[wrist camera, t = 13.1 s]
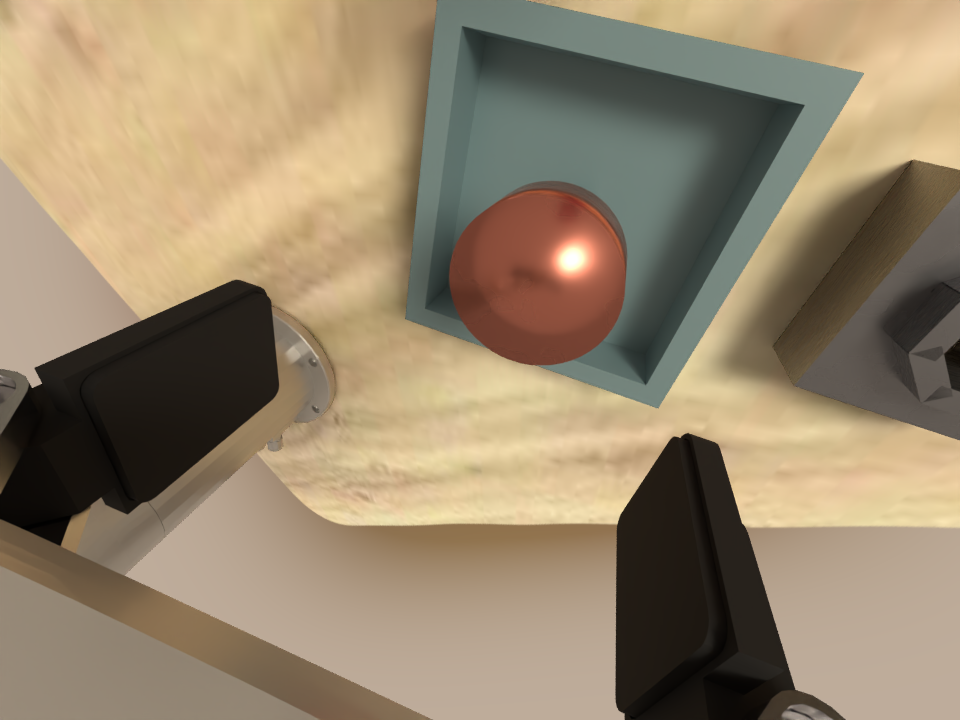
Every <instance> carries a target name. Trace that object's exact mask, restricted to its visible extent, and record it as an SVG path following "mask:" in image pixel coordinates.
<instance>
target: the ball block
mask: <svg viewBox="0 0 960 720" xmlns="http://www.w3.org/2000/svg"><path fill="white" fill-rule="evenodd" d="M959 339H960V170H957V169H953V168H948V167H944V166H939V165H935V164H930V163H926V162H921V161H917V160H912V162H911V163H910V164H909V166H908V167H907V168H906V170H905V171H904V172H903V174H902V175H901V176H900V178H899V179H898V180H897V182H896V183H895V184H894V186H893V187H892V188H891V190H890V191H889V192H888V194H887V195H886V196H885V198H884V199H883V200H882V202H881V203H880V204H879V206H878V207H877V208H876V210H875V211H874V212H873V214H872V215H871V216H870V218H869V219H868V220H867V222H866V223H865V224H864V226H863V227H862V228H861V230H860V231H859V232H858V234H857V235H856V236H855V238H854V239H853V240H852V242H851V243H850V244H849V246H848V247H847V248H846V250H845V251H844V252H843V254H842V255H841V256H840V258H839V259H838V260H837V262H836V263H835V264H834V266H833V267H832V268H831V270H830V271H829V272H828V274H827V275H826V276H825V278H824V279H823V280H822V282H821V283H820V284H819V286H818V287H817V288H816V290H815V291H814V292H813V294H812V295H811V296H810V298H809V299H808V301H807V302H806V303H805V305H804V306H803V307H802V309H801V310H800V311H799V313H798V314H797V315H796V317H795V318H794V319H793V321H792V322H791V323H790V325H789V326H788V327H787V329H786V330H785V331H784V333H783V334H782V335H781V337H780V338H779V339H778V341H777V342H776V343H775V345H774V346H773V348H774V350H775V352H776V353H777V355H778V357H779V359H780V361H781V363H782V365H783V366H784V368H785V370H786V372H787V374H788V376H789V378H790V379H791V381H792V383H793V385H794V386H796V387H799V388H802V389H805V390H808V391H811V392H814V393H817V394H820V395H823V396H826V397H829V398H833V399H836V400H839V401H842V402H845V403H848V404H851V405H854V406H857V407H860V408H863V409H866V410H869V411H872V412H875V413H878V414H881V415H884V416H887V417H890V418H893V419H896V420H899V421H902V422H905V423H909V424H912V425H915V426H918V427H921V428H924V429H927V430H930V431H933V432H936V433H939V434H942V435H945V436H948V437H951V438H954V439H957V440H960V343H958V344H957V345H956V346H955V347H954V348H953V349H952V348H950V347H952V346H953V345H954V344H955V343H956V342H957V341H958V340H959Z"/></svg>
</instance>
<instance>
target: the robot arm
mask: <svg viewBox="0 0 960 720" xmlns="http://www.w3.org/2000/svg"><path fill="white" fill-rule="evenodd" d="M35 370H36V372H37V374H38V376H39V378H40V379H41V382H42V384H41V385H38V386H36V387H34V388H32V387H31V385H30V383H29V382H28V380H27V378H26V376H24V375H22V374H20V373H18V372H15V371H10V370H4V369H0V720H432V719H430V718H428V717H425V716H423V715H421V714H419V713H417V712H415V711H413V710H411V709H409V708H406V707H404V706H402V705H400V704H398V703H396V702H394V701H392V700H390V699H387V698H385V697H383V696H381V695H379V694H377V693H375V692H373V691H371V690H368V689H366V688H364V687H362V686H360V685H358V684H356V683H354V682H351V681H349V680H347V679H345V678H343V677H341V676H339V675H337V674H334V673H332V672H330V671H328V670H326V669H324V668H322V667H320V666H317V665H315V664H313V663H311V662H309V661H306V660H305V659H302V658H300V657H298V656H296V655H294V654H292V653H289V652H287V651H285V650H283V649H281V648H279V647H277V646H275V645H272V644H270V643H268V642H266V641H264V640H262V639H259V638H257V637H255V636H253V635H251V634H249V633H247V632H244V631H242V630H240V629H238V628H236V627H234V626H232V625H230V624H227V623H225V622H223V621H221V620H219V619H217V618H214V617H212V616H210V615H208V614H206V613H204V612H201V611H199V610H197V609H195V608H193V607H191V606H189V605H186V604H184V603H182V602H180V601H178V600H176V599H173V598H171V597H169V596H167V595H165V594H163V593H161V592H159V591H156V590H154V589H152V588H150V587H148V586H146V585H143V584H141V583H139V582H137V581H135V580H132V579H130V578H128V577H126V576H124V575H125V574H126V573H127V572H128V571H130V570H131V569H132V568H133V567H134V566H135V565H136V564H137V563H138V562H139V561H140V560H141V559H142V558H143V557H144V556H145V555H147V554H148V553H149V552H150V551H151V550H152V549H153V548H154V547H155V546H156V545H157V544H158V543H160V542H161V541H162V540H163V539H164V538H165V537H166V536H167V535H168V534H169V533H170V532H171V531H172V530H173V529H174V528H176V527H177V526H178V525H179V524H180V523H181V522H182V521H183V520H184V519H185V518H186V517H188V516H189V515H190V513H192V512H193V511H194V510H195V509H196V508H197V507H198V506H199V505H200V504H202V503H203V502H204V501H205V500H206V499H207V498H208V497H209V496H210V495H211V494H212V493H213V492H214V491H216V490H217V489H218V488H219V487H220V486H221V485H222V484H223V483H224V482H225V481H226V480H227V479H229V478H230V477H231V476H232V475H233V474H234V473H235V472H236V471H237V470H238V469H239V468H240V467H242V466H243V465H244V464H245V463H246V462H247V461H248V460H249V459H250V458H251V457H252V456H253V455H254V454H256V453H257V452H258V451H260V450H262V449H264V447H265V446H266V443H267V444H268V449H269V450H270V451H279V450H280V449H282V447H283V440H282V435H281V434H282V433H283V432H284V431H285V430H286V429H287V428H288V427H290V426H291V425H292V424H293V423H294V422H296V423H305V422H310V421H313V420H316V419H317V418H319V417H320V416H322V415H323V414H324V413H325V412H326V411H327V410H328V409H329V407H330V406H331V404H332V402H333V400H334V395H335V379H334V375H333V371H332V368H331V366H330V363H329V361H328V358H327V357H326V355H325V353H324V352H323V350H322V348H321V347H320V345H319V344H318V343H317V341H316V340H315V339H314V337H313V336H312V335H311V334H310V333H309V332H308V331H307V330H306V329H305V328H304V327H303V326H302V325H301V324H300V323H298V322H297V321H296V320H295V319H293V318H292V317H291V316H289V315H288V314H286V313H284V312H283V311H281V310H279V309H278V308H275V307H273V306H272V305H271V300H270V298H269V297H268V296H267V294H266V292H265V290H264V289H263V288H261V287H259V286H256V285H253V284H250V283H247V282H244V281H241V280H234V281H231V282H228V283H226V284H224V285H222V286H219V287H217V288H215V289H212V290H210V291H208V292H206V293H203V294H201V295H199V296H197V297H194V298H192V299H190V300H187V301H185V302H183V303H181V304H178V305H176V306H174V307H172V308H169V309H167V310H165V311H163V312H160V313H158V314H156V315H153V316H151V317H149V318H147V319H144V320H142V321H140V322H138V323H135V324H133V325H131V326H129V327H126V328H124V329H122V330H119V331H117V332H115V333H113V334H110V335H108V336H106V337H104V338H101V339H99V340H97V341H95V342H92V343H90V344H88V345H85V346H83V347H81V348H79V349H76V350H74V351H72V352H70V353H67V354H65V355H63V356H60V357H58V358H56V359H54V360H51V361H49V362H47V363H45V364H42V365H40V366H38V367H35ZM616 568H617V569H616V571H617V572H616V705H617V708H618V710H619V711H620V712H623V713H625V720H846V719H844V718H843V717H842V716H841V715H840V714H839V713H838V712H836V711H835V710H834V709H833V708H832V707H831V706H829V705H827V704H826V703H824V702H823V701H821V700H819V699H818V698H816V697H814V696H813V695H810V694H807V693H804V692H801V691H798V690H795V687H794V684H793V680H792V677H791V674H790V671H789V667H788V664H787V661H786V657H785V654H784V651H783V647H782V644H781V641H780V637H779V634H778V631H777V628H776V624H775V621H774V618H773V614H772V611H771V608H770V605H769V601H768V598H767V594H766V591H765V588H764V585H763V581H762V578H761V575H760V571H759V568H758V565H757V561H756V558H755V555H754V551H753V548H752V545H751V541H750V538H749V535H748V532H747V530H746V528H745V526H744V525H743V524H742V522H741V518H740V515H739V512H738V508H737V505H736V501H735V498H734V495H733V491H732V488H731V484H730V481H729V478H728V474H727V471H726V467H725V464H724V461H723V457H722V454H721V451H720V448H719V446H718V444H717V443H715V442H712V441H709V440H706V439H703V438H701V437H698V436H695V435H692V434H689V433H687V434H684V435H683V436H682V437H681V438H679V437H673V438H671V440H670V441H669V442H668V444H667V445H666V447H665V448H664V450H663V451H662V453H661V454H660V456H659V457H658V459H657V460H656V462H655V463H654V465H653V466H652V468H651V469H650V471H649V473H648V474H647V476H646V477H645V479H644V480H643V482H642V483H641V485H640V486H639V488H638V489H637V491H636V492H635V494H634V495H633V497H632V498H631V500H630V501H629V503H628V504H627V506H626V507H625V509H624V510H623V512H622V513H621V515H620V518H619V521H618V525H617V567H616Z"/></svg>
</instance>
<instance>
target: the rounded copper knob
mask: <svg viewBox="0 0 960 720" xmlns="http://www.w3.org/2000/svg"><path fill="white" fill-rule="evenodd" d="M626 270H627V244H626V240H625V235H624V232H623V230H622V227H621V225H620V223H619V221H618V219H617V217H616V216H615V214H614V213H613V212H612V210H611V209H610V208H609V206H608V205H607V204H606V203H605V202H604V201H602V200H601V199H600V198H599V197H598V196H596V195H595V194H593V193H592V192H590V191H588V190H587V189H585V188H583V187H580V186H577V185H575V184H572V183H567V182H562V181H539V182H534V183H530V184H527V185H524V186H522V187H519V188H517V189H515V190H513V191H512V192H510V193H508V194H507V195H506V196H504V197H503V198H502V199H500V200H499V201H497V202H496V203H495V204H493V205H492V206H490V207H489V208H488V209H486V210H485V211H484V212H482V213H481V214H480V215H478V216H477V217H476V218H475V219H474V220H473V221H472V222H471V223H470V224H469V225H468V226H467V227H466V229H465V230H464V231H463V233H462V234H461V236H460V238H459V240H458V241H457V243H456V246H455V249H454V251H453V254H452V258H451V263H450V272H449V280H450V290H451V295H452V299H453V302H454V305H455V308H456V310H457V312H458V314H459V316H460V318H461V320H462V321H463V323H464V324H465V326H466V327H467V329H468V330H469V331H470V332H471V333H472V335H473V336H474V337H475V338H476V339H477V340H478V341H480V342H481V343H482V344H483V345H484V346H486V347H487V348H488V349H490V350H491V351H493V352H495V353H497V354H498V355H500V356H502V357H505V358H507V359H509V360H512V361H516V362H519V363H524V364H529V365H555V364H561V363H565V362H568V361H572V360H574V359H576V358H579V357H581V356H583V355H584V354H586V353H588V352H590V351H591V350H592V349H594V348H595V347H596V346H598V345H599V344H600V343H601V342H602V341H603V340H604V339H605V338H606V337H607V335H608V334H609V333H610V331H611V330H612V329H613V327H614V325H615V323H616V322H617V320H618V318H619V315H620V312H621V310H622V306H623V301H624V297H625V283H626Z"/></svg>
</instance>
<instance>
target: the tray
mask: <svg viewBox="0 0 960 720" xmlns="http://www.w3.org/2000/svg"><path fill="white" fill-rule="evenodd" d="M863 75H864V73H861V72H856V71H852V70H847V69H842V68H838V67H833V66H828V65H824V64H819V63H814V62H810V61H805V60H800V59H796V58H791V57H787V56H782V55H777V54H773V53H768V52H763V51H759V50H754V49H749V48H745V47H740V46H735V45H731V44H726V43H721V42H717V41H712V40H707V39H703V38H698V37H694V36H689V35H684V34H680V33H675V32H670V31H666V30H661V29H656V28H652V27H647V26H642V25H638V24H633V23H628V22H624V21H619V20H615V19H610V18H605V17H601V16H596V15H591V14H587V13H582V12H577V11H573V10H568V9H563V8H559V7H554V6H549V5H545V4H540V3H535V2H531V1H526V0H437V8H436V18H435V28H434V38H433V48H432V58H431V68H430V78H429V88H428V98H427V108H426V118H425V128H424V138H423V148H422V157H421V167H420V177H419V187H418V197H417V207H416V217H415V227H414V237H413V247H412V257H411V267H410V277H409V287H408V297H407V307H406V317H405V319H406V320H409V321H412V322H415V323H418V324H420V325H423V326H426V327H429V328H432V329H435V330H437V331H440V332H443V333H446V334H449V335H452V336H454V337H457V338H460V339H463V340H466V341H469V342H471V343H474V344H477V345H480V346H483V347H485V348H487V347H486V346H484V345H483V344H482V343H481V342H480V341H478V340H477V339H476V338H475V337H474V336H473V335H472V333H471V332H470V331H469V330H468V329H467V327H466V326H465V324H464V323H463V321H462V320H461V318H460V316H459V314H458V312H457V310H456V308H455V305H454V302H453V299H452V295H451V290H450V280H449V272H450V263H451V258H452V254H453V251H454V249H455V246H456V243H457V241H458V240H459V238H460V236H461V234H462V233H463V231H464V230H465V229H466V227H467V226H468V225H469V224H470V223H471V222H472V221H473V220H474V219H475V218H476V217H477V216H478V215H480V214H481V213H482V212H484V211H485V210H486V209H488V208H489V207H490V206H492V205H493V204H495V203H496V202H497V201H499V200H500V199H502V198H503V197H504V196H506V195H507V194H508V193H510V192H512V191H513V190H515V189H517V188H519V187H522V186H524V185H527V184H530V183H534V182H539V181H562V182H567V183H572V184H575V185H577V186H580V187H583V188H585V189H587V190H588V191H590V192H592V193H593V194H595V195H596V196H598V197H599V198H600V199H601V200H602V201H604V202H605V203H606V204H607V205H608V206H609V208H610V209H611V210H612V212H613V213H614V214H615V216H616V217H617V219H618V221H619V223H620V225H621V227H622V230H623V232H624V235H625V240H626V244H627V270H626V283H625V297H624V301H623V306H622V310H621V312H620V315H619V318H618V320H617V322H616V323H615V325H614V327H613V329H612V330H611V331H610V333H609V334H608V335H607V337H606V338H605V339H604V340H603V341H602V342H601V343H600V344H599V345H598V346H596V347H595V348H594V349H592V350H591V351H590V352H588V353H586V354H584V355H583V356H581V357H579V358H576V359H574V360H572V361H568V362H565V363H561V364H555V365H536V366H539V367H542V368H545V369H548V370H551V371H553V372H556V373H559V374H562V375H565V376H567V377H570V378H573V379H576V380H579V381H582V382H584V383H587V384H590V385H593V386H596V387H599V388H601V389H604V390H607V391H610V392H613V393H616V394H618V395H621V396H624V397H627V398H630V399H633V400H635V401H638V402H641V403H644V404H647V405H649V406H652V407H655V408H659V406H660V404H661V403H662V401H663V400H664V398H665V396H666V395H667V393H668V391H669V390H670V388H671V387H672V385H673V383H674V382H675V380H676V378H677V377H678V375H679V374H680V372H681V370H682V369H683V367H684V365H685V364H686V362H687V361H688V359H689V357H690V356H691V354H692V352H693V351H694V349H695V348H696V346H697V344H698V343H699V341H700V339H701V338H702V336H703V335H704V333H705V331H706V330H707V328H708V326H709V325H710V323H711V322H712V320H713V318H714V317H715V315H716V313H717V312H718V310H719V309H720V307H721V305H722V304H723V302H724V300H725V299H726V297H727V296H728V294H729V292H730V291H731V289H732V287H733V286H734V284H735V283H736V281H737V279H738V278H739V276H740V274H741V273H742V271H743V270H744V268H745V266H746V265H747V263H748V261H749V260H750V258H751V257H752V255H753V253H754V252H755V250H756V248H757V247H758V245H759V244H760V242H761V240H762V239H763V237H764V235H765V234H766V232H767V231H768V229H769V227H770V226H771V224H772V222H773V221H774V219H775V218H776V216H777V214H778V213H779V211H780V209H781V208H782V206H783V205H784V203H785V201H786V200H787V198H788V196H789V195H790V193H791V192H792V190H793V188H794V187H795V185H796V183H797V182H798V180H799V179H800V177H801V175H802V174H803V172H804V170H805V169H806V167H807V166H808V164H809V162H810V161H811V159H812V157H813V156H814V154H815V153H816V151H817V149H818V148H819V146H820V144H821V143H822V141H823V140H824V138H825V136H826V135H827V133H828V131H829V130H830V128H831V127H832V125H833V123H834V122H835V120H836V118H837V117H838V115H839V114H840V112H841V110H842V109H843V107H844V105H845V104H846V102H847V101H848V99H849V97H850V96H851V94H852V92H853V91H854V89H855V88H856V86H857V84H858V83H859V81H860V79H861V78H862V76H863Z"/></svg>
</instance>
